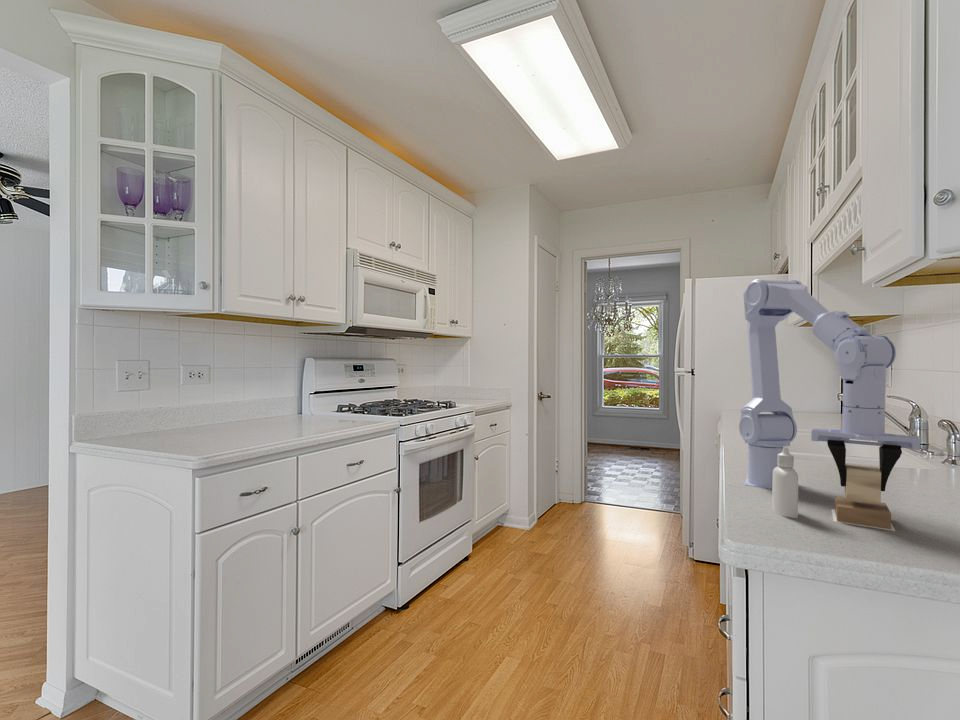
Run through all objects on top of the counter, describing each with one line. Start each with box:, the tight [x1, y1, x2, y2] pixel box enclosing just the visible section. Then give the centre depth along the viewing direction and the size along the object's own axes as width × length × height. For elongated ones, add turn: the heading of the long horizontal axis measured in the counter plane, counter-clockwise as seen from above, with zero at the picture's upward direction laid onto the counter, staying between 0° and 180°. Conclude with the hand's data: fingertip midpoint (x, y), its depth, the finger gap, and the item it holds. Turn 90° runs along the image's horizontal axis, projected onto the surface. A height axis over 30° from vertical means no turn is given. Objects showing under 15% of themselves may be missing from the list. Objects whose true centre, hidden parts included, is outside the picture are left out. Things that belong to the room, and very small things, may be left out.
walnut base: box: [834, 495, 892, 529], centre depth 85 cm, size 7×7×2 cm
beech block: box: [844, 463, 882, 503], centre depth 85 cm, size 4×4×5 cm
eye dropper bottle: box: [771, 446, 799, 519], centre depth 88 cm, size 4×6×12 cm
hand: (862, 487), depth 85 cm, fingers closed on beech block, 4 cm apart
